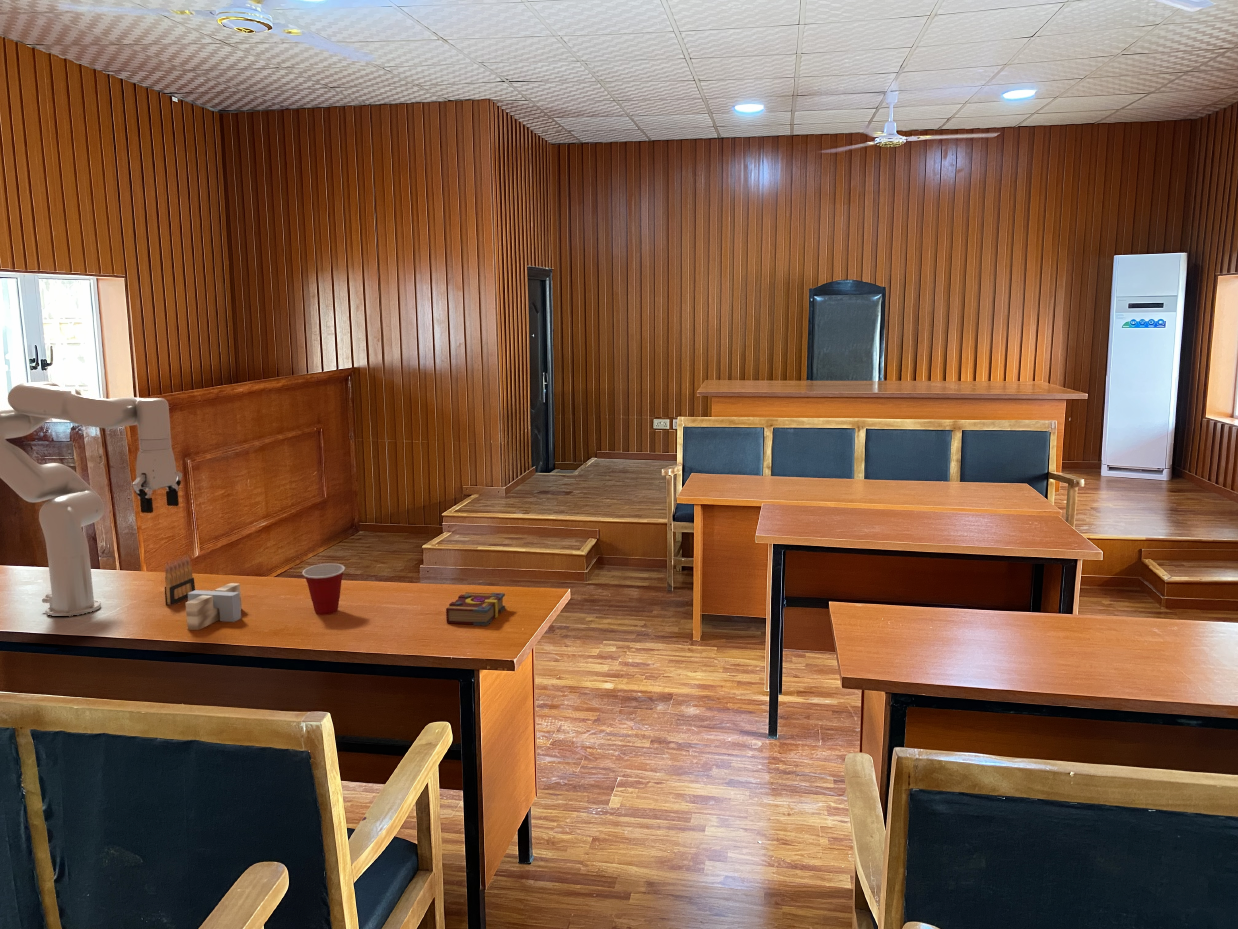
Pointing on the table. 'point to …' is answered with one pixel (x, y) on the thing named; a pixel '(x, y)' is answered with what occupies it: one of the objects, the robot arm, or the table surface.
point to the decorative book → (475, 608)
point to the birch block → (206, 608)
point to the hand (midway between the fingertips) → (160, 509)
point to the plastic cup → (324, 586)
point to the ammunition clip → (178, 580)
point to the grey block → (222, 603)
